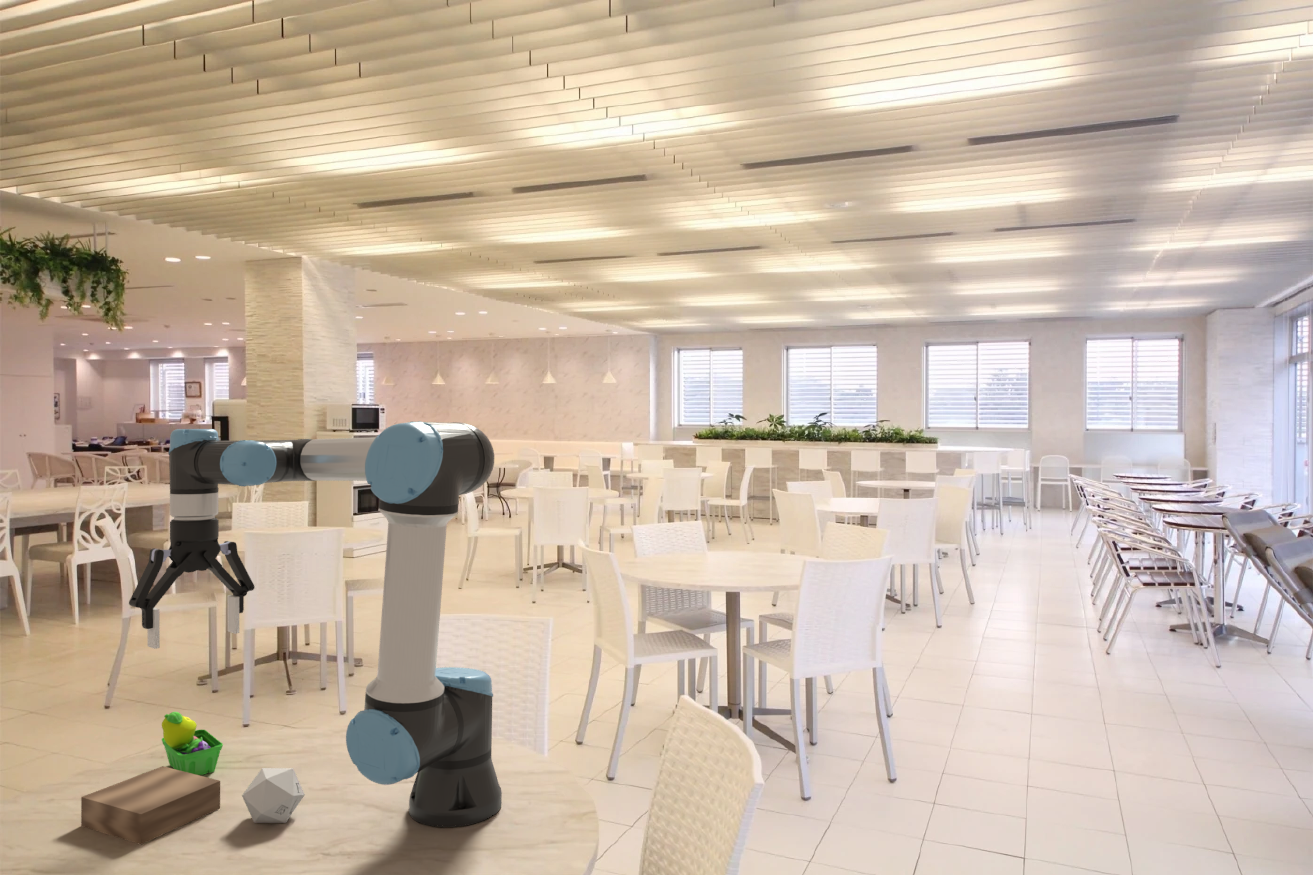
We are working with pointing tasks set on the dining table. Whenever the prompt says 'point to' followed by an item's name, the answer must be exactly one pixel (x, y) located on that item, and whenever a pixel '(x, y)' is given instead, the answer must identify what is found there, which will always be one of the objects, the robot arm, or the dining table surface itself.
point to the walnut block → (150, 804)
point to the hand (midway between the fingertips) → (194, 639)
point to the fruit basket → (189, 745)
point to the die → (273, 795)
